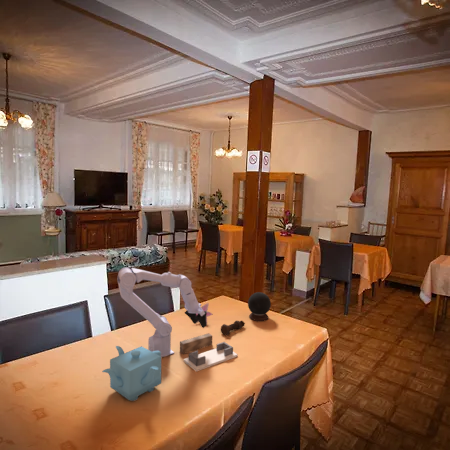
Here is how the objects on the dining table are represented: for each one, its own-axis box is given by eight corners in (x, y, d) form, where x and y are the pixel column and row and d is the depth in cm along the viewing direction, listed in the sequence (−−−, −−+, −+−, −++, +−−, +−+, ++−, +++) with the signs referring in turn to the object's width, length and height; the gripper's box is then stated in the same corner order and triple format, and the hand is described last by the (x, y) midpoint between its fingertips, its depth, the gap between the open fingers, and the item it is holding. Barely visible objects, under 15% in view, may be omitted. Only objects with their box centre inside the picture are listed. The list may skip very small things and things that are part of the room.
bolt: (243, 330, 186) (224, 337, 176) (237, 323, 189) (218, 330, 178) (248, 322, 184) (229, 330, 173) (242, 316, 187) (223, 322, 176)
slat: (183, 354, 155) (183, 344, 154) (179, 352, 157) (179, 341, 157) (212, 345, 165) (212, 335, 164) (208, 343, 167) (208, 333, 166)
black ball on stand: (273, 316, 202) (275, 292, 200) (264, 324, 191) (265, 298, 189) (253, 311, 209) (254, 287, 207) (243, 318, 198) (244, 293, 196)
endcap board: (196, 371, 141) (196, 362, 140) (183, 361, 149) (183, 352, 148) (237, 356, 154) (237, 347, 154) (224, 347, 162) (224, 339, 162)
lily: (186, 322, 193) (186, 310, 188) (199, 308, 202) (199, 297, 196) (203, 333, 189) (204, 321, 183) (215, 319, 197) (216, 308, 191)
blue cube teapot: (162, 375, 138) (162, 340, 136) (158, 405, 119) (159, 365, 117) (114, 377, 135) (113, 341, 134) (102, 407, 117) (101, 366, 115)
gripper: (205, 298, 154) (215, 323, 158) (189, 292, 166) (198, 316, 170) (193, 306, 151) (203, 332, 154) (177, 300, 162) (187, 324, 166)
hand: (200, 324), depth 162 cm, fingers open, 7 cm apart
